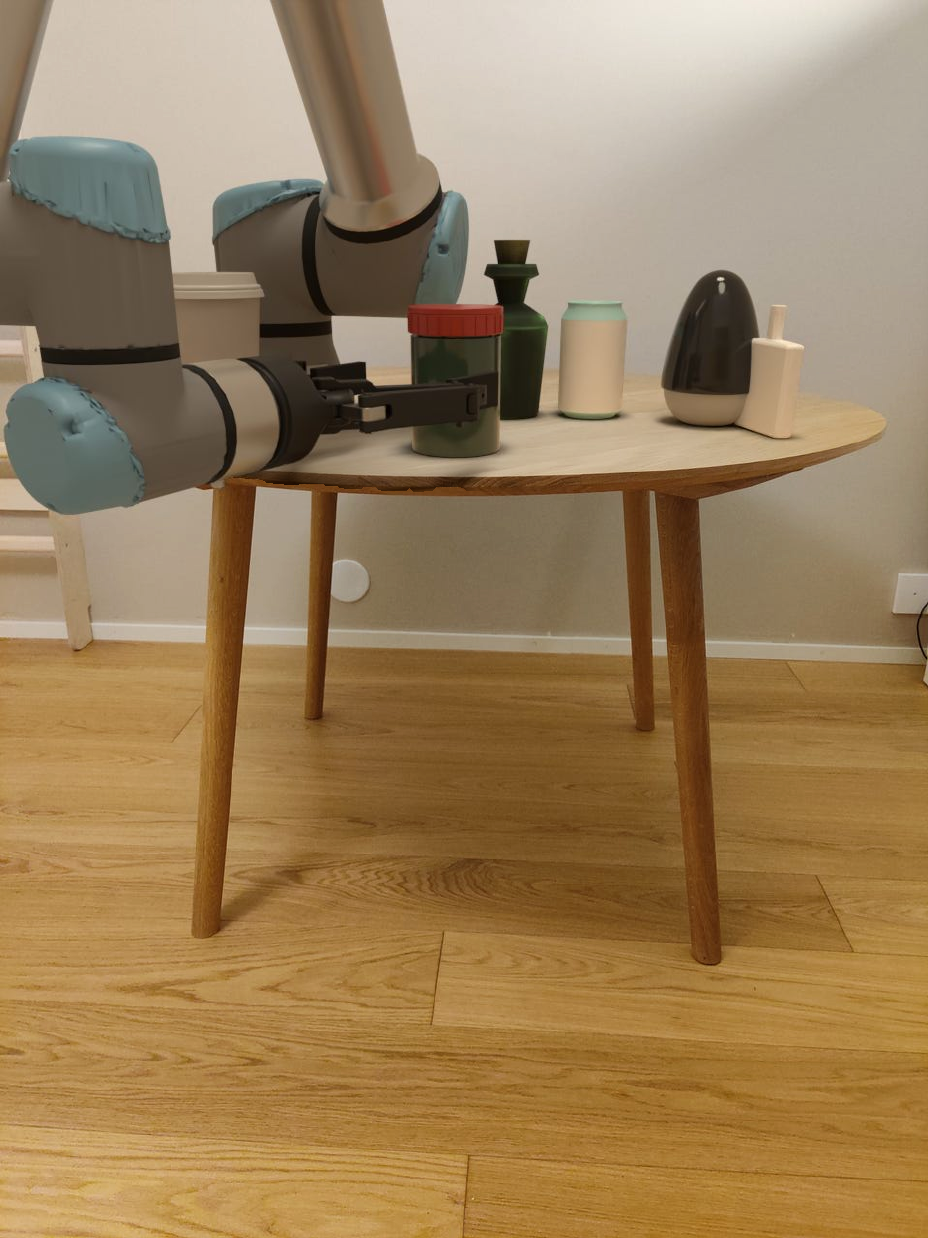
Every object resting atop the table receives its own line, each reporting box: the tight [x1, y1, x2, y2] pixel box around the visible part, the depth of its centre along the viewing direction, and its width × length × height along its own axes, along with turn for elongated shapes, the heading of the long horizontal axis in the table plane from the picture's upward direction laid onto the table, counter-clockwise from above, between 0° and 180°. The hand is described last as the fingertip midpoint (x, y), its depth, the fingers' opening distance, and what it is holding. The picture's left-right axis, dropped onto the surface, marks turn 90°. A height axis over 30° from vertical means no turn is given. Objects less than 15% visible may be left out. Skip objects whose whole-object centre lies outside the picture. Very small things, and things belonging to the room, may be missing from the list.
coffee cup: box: [172, 271, 265, 365], centre depth 87 cm, size 10×10×15 cm
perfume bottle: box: [733, 304, 805, 439], centre depth 91 cm, size 8×2×12 cm, turn 14°
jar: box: [409, 334, 501, 458], centre depth 82 cm, size 8×8×12 cm
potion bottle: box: [483, 239, 549, 420], centre depth 99 cm, size 8×8×18 cm
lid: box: [406, 303, 504, 336], centre depth 80 cm, size 8×8×2 cm
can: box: [557, 299, 628, 420], centre depth 100 cm, size 7×7×12 cm
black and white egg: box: [660, 269, 761, 427], centre depth 95 cm, size 10×10×15 cm
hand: (426, 382), depth 78 cm, fingers open, 13 cm apart
